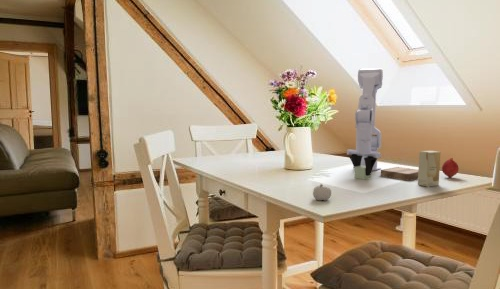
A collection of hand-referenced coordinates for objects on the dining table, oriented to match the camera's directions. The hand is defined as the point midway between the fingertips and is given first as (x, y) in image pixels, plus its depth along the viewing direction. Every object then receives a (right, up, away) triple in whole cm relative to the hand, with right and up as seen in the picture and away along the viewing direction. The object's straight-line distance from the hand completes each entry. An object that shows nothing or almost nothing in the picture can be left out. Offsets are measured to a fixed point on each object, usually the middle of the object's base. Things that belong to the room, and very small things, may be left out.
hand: (362, 174), depth 155 cm
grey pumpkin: (-22, -5, -34) cm, 41 cm away
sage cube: (0, -1, 0) cm, 1 cm away
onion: (+34, -2, 0) cm, 34 cm away
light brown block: (+17, -1, +3) cm, 17 cm away
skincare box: (+20, -3, -14) cm, 24 cm away
